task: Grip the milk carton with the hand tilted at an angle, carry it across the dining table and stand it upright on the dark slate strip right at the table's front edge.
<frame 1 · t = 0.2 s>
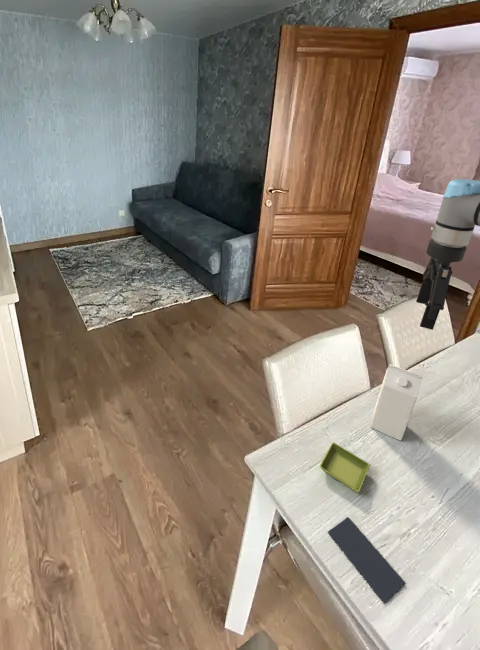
hand: (423, 314, 94), 28 cm above the table, tool pointing down, fingers open, 13 cm apart
edge strip: (364, 556, 66), on the table
milk carton: (386, 425, 93), on the table
green rectangular tray: (343, 471, 81), on the table
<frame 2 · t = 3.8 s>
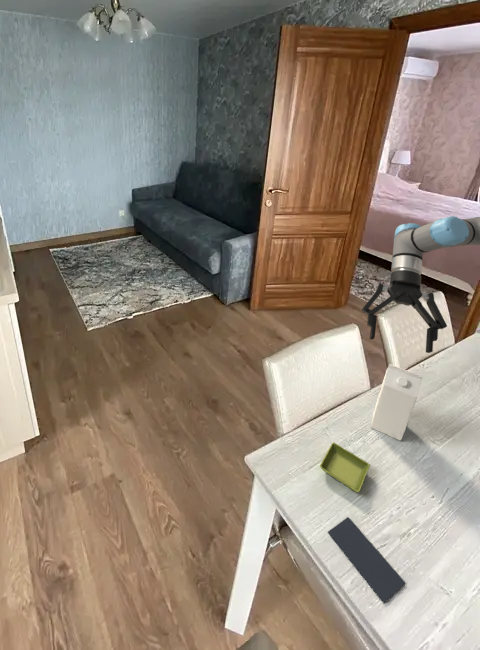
hand: (399, 345, 95), 19 cm above the table, tool tilted 45°, fingers open, 13 cm apart
nothing on the table moved.
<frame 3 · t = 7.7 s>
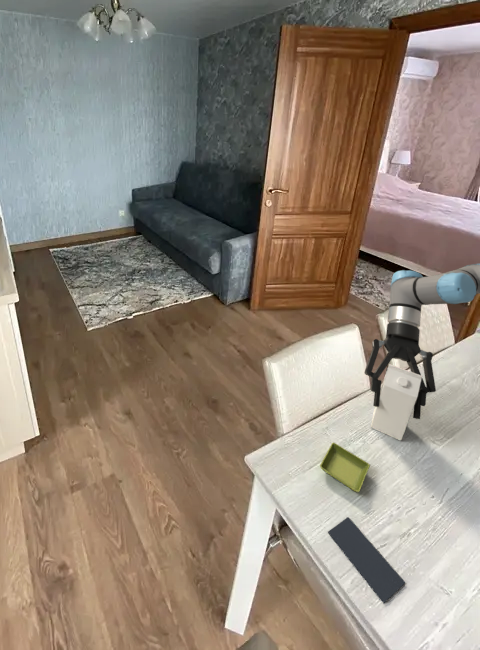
hand: (395, 412, 87), 8 cm above the table, tool tilted 45°, fingers closed on milk carton, 8 cm apart
milk carton: (386, 425, 93), on the table, touching gripper
everything else where it was.
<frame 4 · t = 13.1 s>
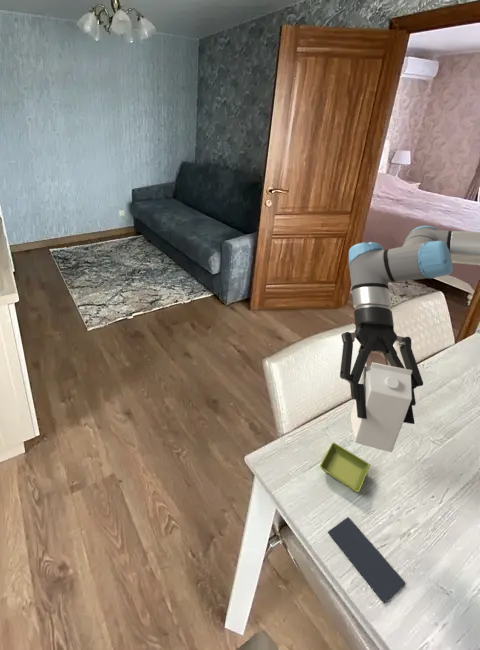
hand: (385, 420, 70), 21 cm above the table, tool tilted 45°, fingers closed on milk carton, 8 cm apart
milk carton: (369, 434, 76), point 13 cm above the table, touching gripper
everything else where it was.
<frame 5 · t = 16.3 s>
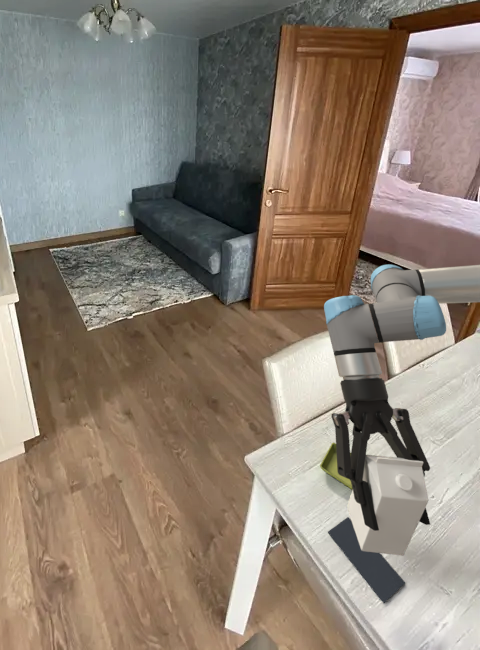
hand: (397, 524, 57), 16 cm above the table, tool tilted 45°, fingers closed on milk carton, 8 cm apart
milk carton: (373, 531, 63), point 8 cm above the table, touching gripper
everything else where it was.
when the fingers open (8 cm above the table, at t = 18.8 s): milk carton stays where it is, resting on edge strip.
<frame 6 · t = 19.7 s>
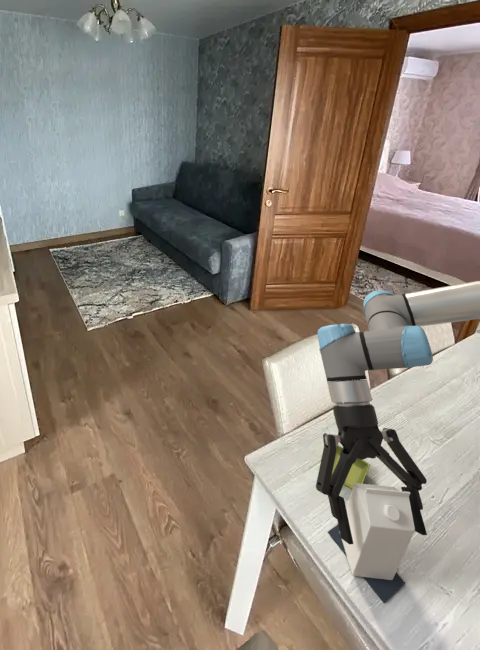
hand: (383, 536, 60), 10 cm above the table, tool tilted 45°, fingers open, 13 cm apart
milk carton: (364, 555, 66), resting on edge strip
everything else where it was.
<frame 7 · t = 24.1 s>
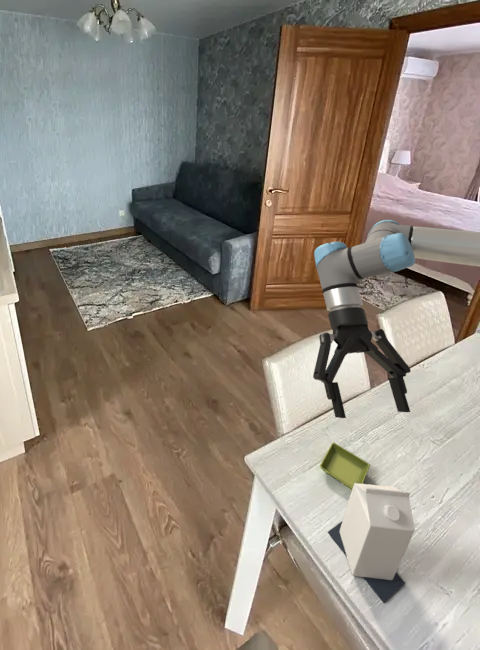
hand: (372, 414, 69), 23 cm above the table, tool tilted 45°, fingers open, 13 cm apart
nothing on the table moved.
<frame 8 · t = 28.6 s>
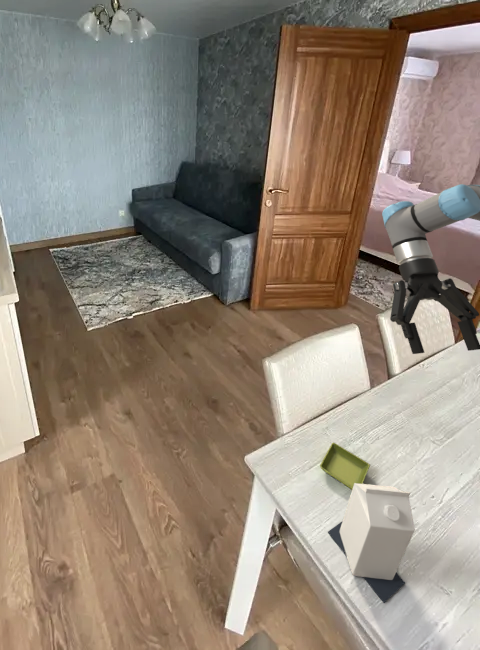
hand: (446, 351, 76), 30 cm above the table, tool tilted 45°, fingers open, 13 cm apart
nothing on the table moved.
at the end: milk carton inside the target area on the edge strip (0.1 cm from its centre), point 0.1 cm above the edge strip's base; milk carton tilted 0°; the gripper is holding nothing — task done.
